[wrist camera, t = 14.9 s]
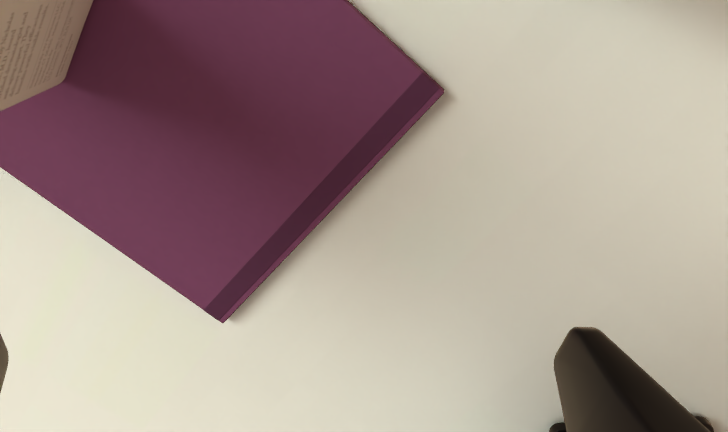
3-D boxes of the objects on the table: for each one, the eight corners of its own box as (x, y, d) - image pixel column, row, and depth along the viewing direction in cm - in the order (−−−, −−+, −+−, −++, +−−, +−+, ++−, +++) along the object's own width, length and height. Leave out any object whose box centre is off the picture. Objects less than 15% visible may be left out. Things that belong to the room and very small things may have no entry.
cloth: (444, 89, 19) (444, 92, 19) (225, 318, 24) (222, 324, 24) (-61, -376, 15) (-74, -384, 14) (-196, 20, 20) (-208, 22, 19)
